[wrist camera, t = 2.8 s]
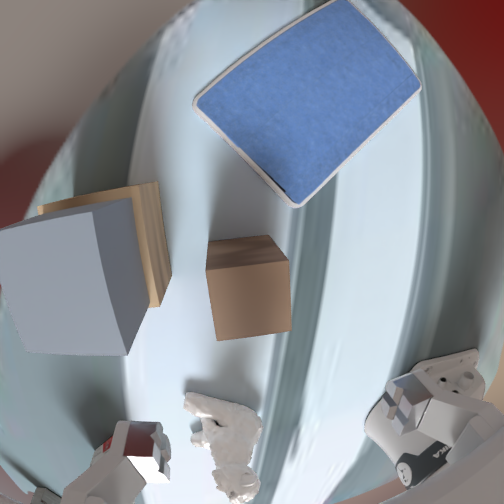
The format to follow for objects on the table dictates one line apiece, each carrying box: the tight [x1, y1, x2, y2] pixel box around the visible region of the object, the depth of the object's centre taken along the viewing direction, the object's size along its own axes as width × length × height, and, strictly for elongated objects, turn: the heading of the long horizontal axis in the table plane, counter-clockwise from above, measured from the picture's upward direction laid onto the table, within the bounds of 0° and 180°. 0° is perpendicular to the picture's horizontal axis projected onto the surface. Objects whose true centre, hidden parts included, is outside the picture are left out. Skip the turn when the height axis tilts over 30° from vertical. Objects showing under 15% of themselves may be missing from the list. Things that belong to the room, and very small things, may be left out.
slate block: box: [0, 197, 150, 356], centre depth 14 cm, size 7×7×6 cm
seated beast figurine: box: [183, 392, 263, 504], centre depth 23 cm, size 10×9×12 cm
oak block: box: [37, 181, 172, 308], centre depth 20 cm, size 8×8×6 cm
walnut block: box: [205, 235, 292, 341], centre depth 21 cm, size 5×5×7 cm
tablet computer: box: [192, 0, 422, 208], centre depth 21 cm, size 19×13×1 cm, turn 134°
